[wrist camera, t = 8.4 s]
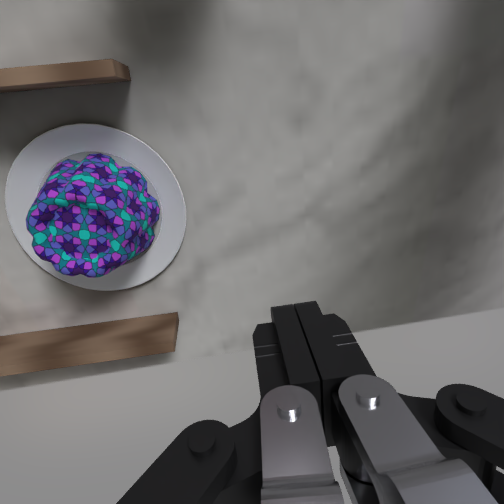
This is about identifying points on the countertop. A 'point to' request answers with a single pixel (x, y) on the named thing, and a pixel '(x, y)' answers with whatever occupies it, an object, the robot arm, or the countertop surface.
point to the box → (92, 335)
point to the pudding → (94, 207)
